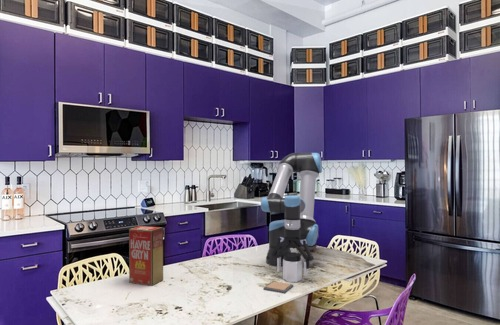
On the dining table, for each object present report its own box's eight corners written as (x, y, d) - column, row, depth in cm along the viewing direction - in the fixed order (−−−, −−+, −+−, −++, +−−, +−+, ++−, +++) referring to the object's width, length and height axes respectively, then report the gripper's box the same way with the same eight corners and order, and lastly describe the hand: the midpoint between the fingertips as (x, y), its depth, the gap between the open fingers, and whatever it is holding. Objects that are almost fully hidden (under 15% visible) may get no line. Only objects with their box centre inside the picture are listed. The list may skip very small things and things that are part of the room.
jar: (304, 281, 167) (304, 255, 167) (288, 283, 164) (288, 257, 164) (295, 275, 175) (295, 251, 175) (280, 277, 172) (280, 252, 172)
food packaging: (127, 282, 164) (128, 228, 164) (140, 276, 173) (140, 225, 173) (152, 286, 160) (152, 230, 160) (164, 279, 169) (164, 226, 169)
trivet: (263, 289, 156) (263, 287, 156) (272, 282, 164) (272, 280, 164) (284, 293, 151) (284, 291, 151) (293, 286, 160) (293, 284, 160)
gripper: (265, 227, 172) (265, 271, 172) (315, 231, 160) (315, 279, 160) (271, 225, 179) (271, 267, 179) (320, 229, 167) (320, 274, 167)
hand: (292, 273), depth 169 cm, fingers open, 13 cm apart
